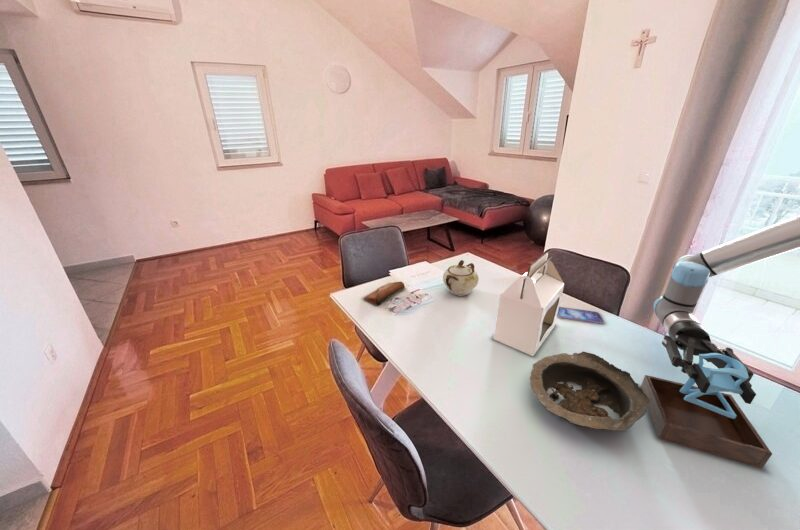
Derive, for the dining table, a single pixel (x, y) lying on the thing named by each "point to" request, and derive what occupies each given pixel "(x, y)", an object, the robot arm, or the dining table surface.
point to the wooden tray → (703, 423)
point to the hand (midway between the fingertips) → (727, 393)
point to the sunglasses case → (384, 292)
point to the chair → (717, 383)
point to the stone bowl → (588, 391)
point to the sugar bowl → (460, 278)
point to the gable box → (529, 307)
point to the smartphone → (579, 315)
